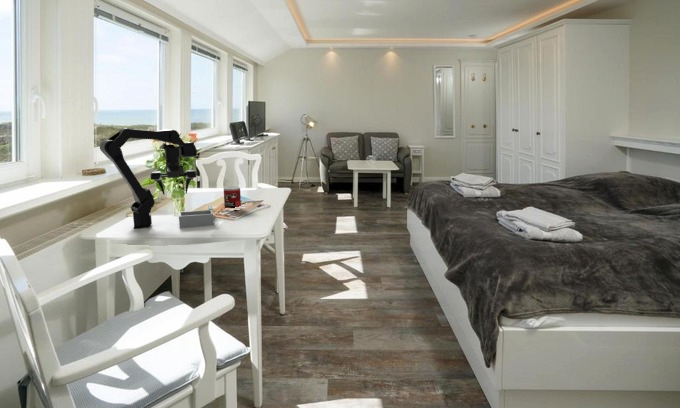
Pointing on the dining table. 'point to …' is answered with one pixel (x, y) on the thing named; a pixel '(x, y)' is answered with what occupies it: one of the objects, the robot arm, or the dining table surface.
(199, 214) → the tub
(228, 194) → the canned food
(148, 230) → the dining table surface
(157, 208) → the dining table surface
